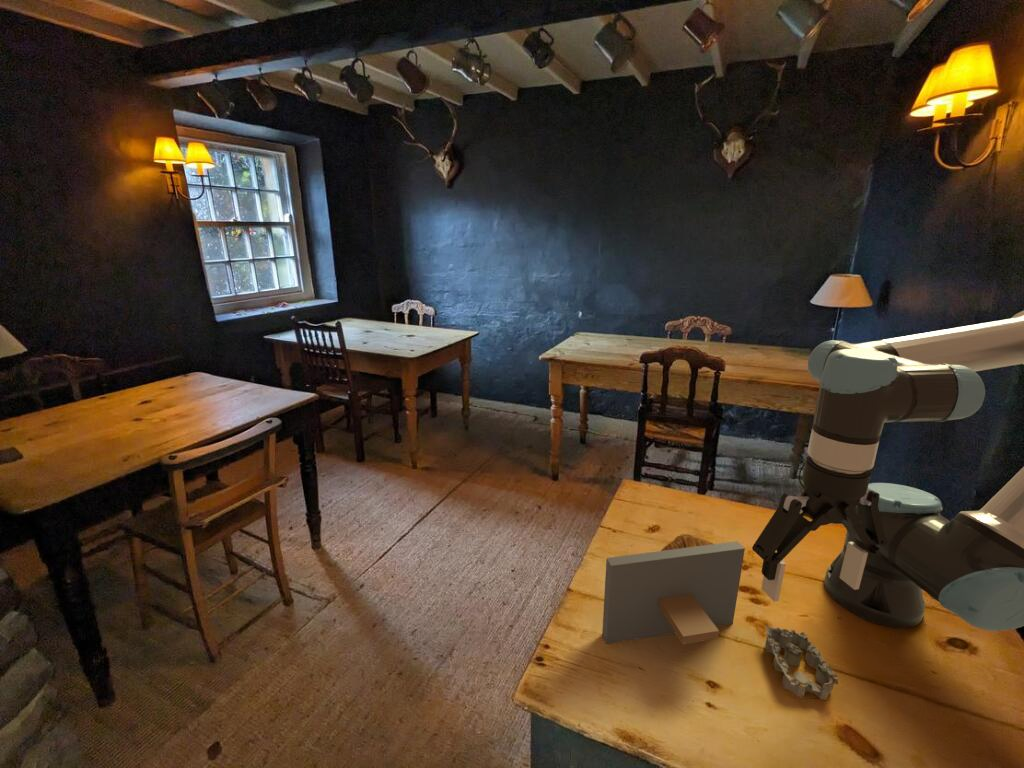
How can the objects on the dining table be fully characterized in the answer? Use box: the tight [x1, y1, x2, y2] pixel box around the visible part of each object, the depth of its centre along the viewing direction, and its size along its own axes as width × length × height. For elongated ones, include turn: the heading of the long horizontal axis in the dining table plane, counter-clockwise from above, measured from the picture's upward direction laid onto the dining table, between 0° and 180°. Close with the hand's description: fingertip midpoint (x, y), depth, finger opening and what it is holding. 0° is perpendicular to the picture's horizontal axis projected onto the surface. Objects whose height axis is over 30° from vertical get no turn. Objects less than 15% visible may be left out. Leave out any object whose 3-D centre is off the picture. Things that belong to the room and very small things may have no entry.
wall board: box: [601, 540, 746, 645], centre depth 76 cm, size 24×10×16 cm, turn 100°
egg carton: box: [764, 625, 839, 701], centre depth 74 cm, size 11×8×4 cm
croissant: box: [660, 533, 714, 551], centre depth 101 cm, size 14×7×5 cm, turn 101°
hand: (809, 589), depth 70 cm, fingers open, 13 cm apart
